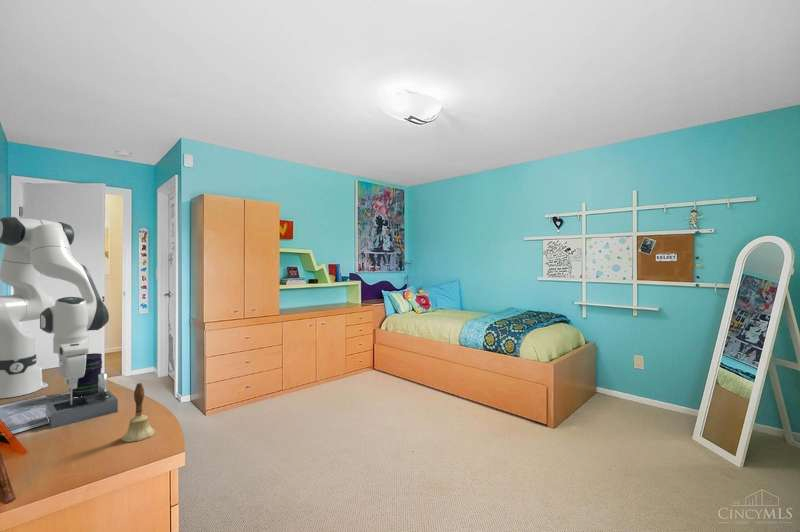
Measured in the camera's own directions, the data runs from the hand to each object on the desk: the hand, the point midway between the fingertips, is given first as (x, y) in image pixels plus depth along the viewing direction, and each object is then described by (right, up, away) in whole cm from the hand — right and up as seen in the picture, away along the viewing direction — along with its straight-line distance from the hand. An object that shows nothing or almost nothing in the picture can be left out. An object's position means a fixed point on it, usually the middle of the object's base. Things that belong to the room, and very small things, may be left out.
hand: (71, 386), depth 124 cm
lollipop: (0, -6, 0) cm, 6 cm away
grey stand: (+2, -11, +2) cm, 11 cm away
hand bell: (+32, -11, -12) cm, 36 cm away
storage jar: (-13, -10, +22) cm, 28 cm away
